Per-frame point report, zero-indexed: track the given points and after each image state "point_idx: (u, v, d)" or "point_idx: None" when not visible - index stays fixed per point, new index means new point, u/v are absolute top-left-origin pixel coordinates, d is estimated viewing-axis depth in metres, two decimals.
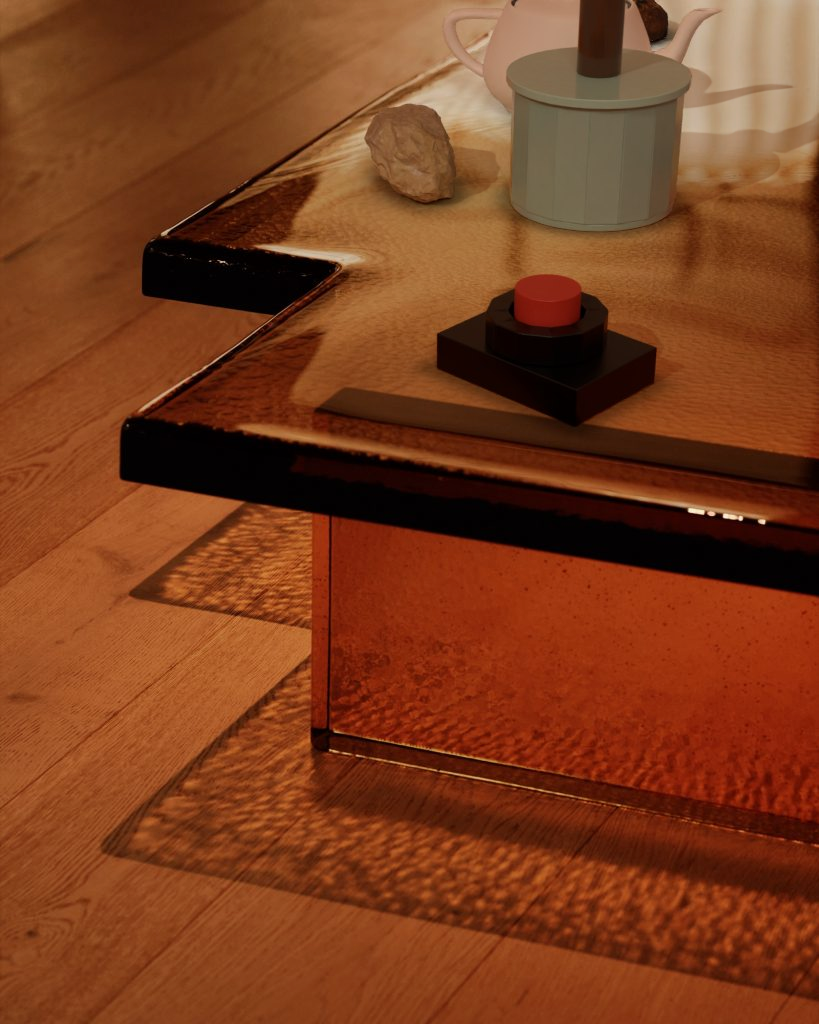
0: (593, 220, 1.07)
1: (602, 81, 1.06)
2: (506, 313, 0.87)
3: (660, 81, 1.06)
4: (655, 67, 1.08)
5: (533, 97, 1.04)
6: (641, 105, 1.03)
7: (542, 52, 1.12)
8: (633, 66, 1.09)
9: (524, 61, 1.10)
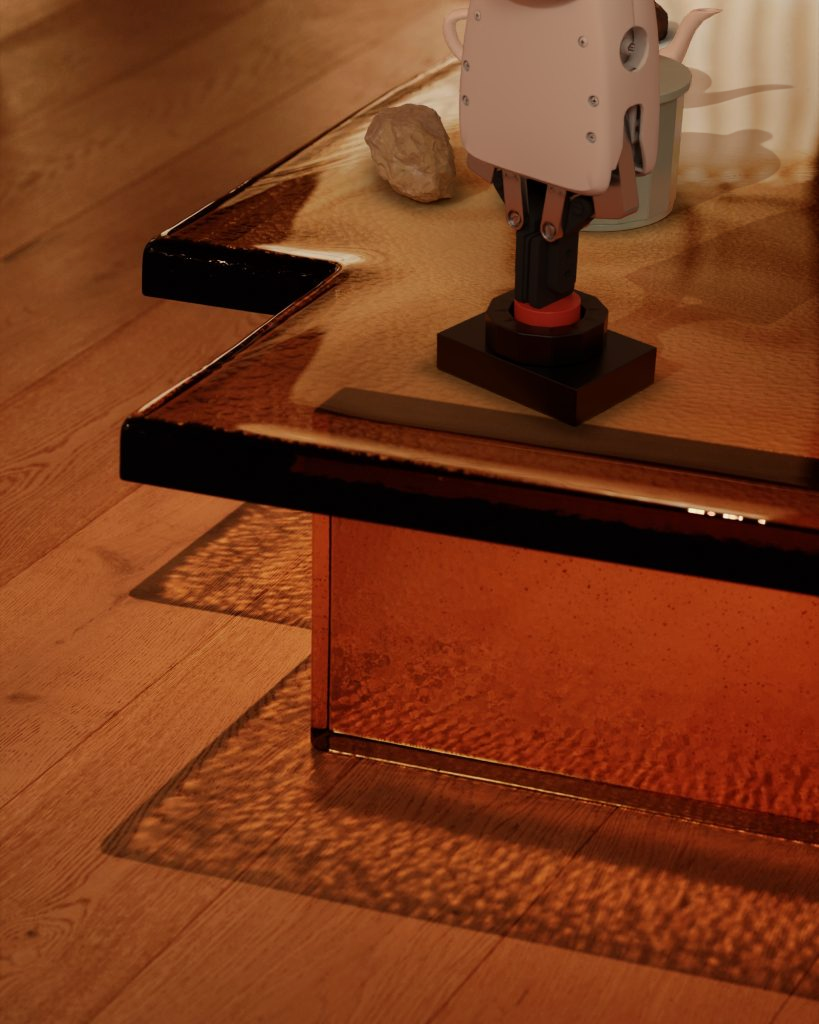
0: (593, 220, 1.07)
1: None
2: (506, 313, 0.87)
3: (660, 81, 1.06)
4: None
5: None
6: None
7: None
8: None
9: None
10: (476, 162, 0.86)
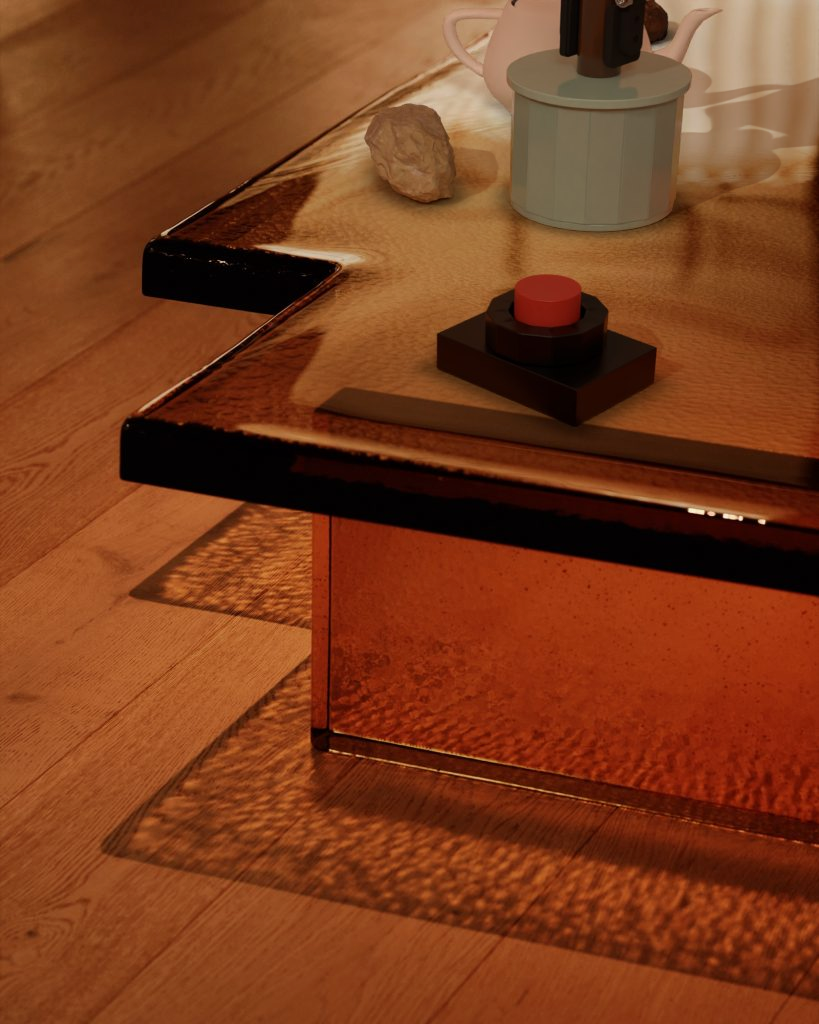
0: (593, 220, 1.07)
1: (602, 81, 1.06)
2: (506, 313, 0.87)
3: (660, 81, 1.06)
4: (655, 67, 1.08)
5: (533, 97, 1.04)
6: (641, 105, 1.03)
7: (542, 52, 1.12)
8: (633, 66, 1.09)
9: (524, 61, 1.10)
10: None
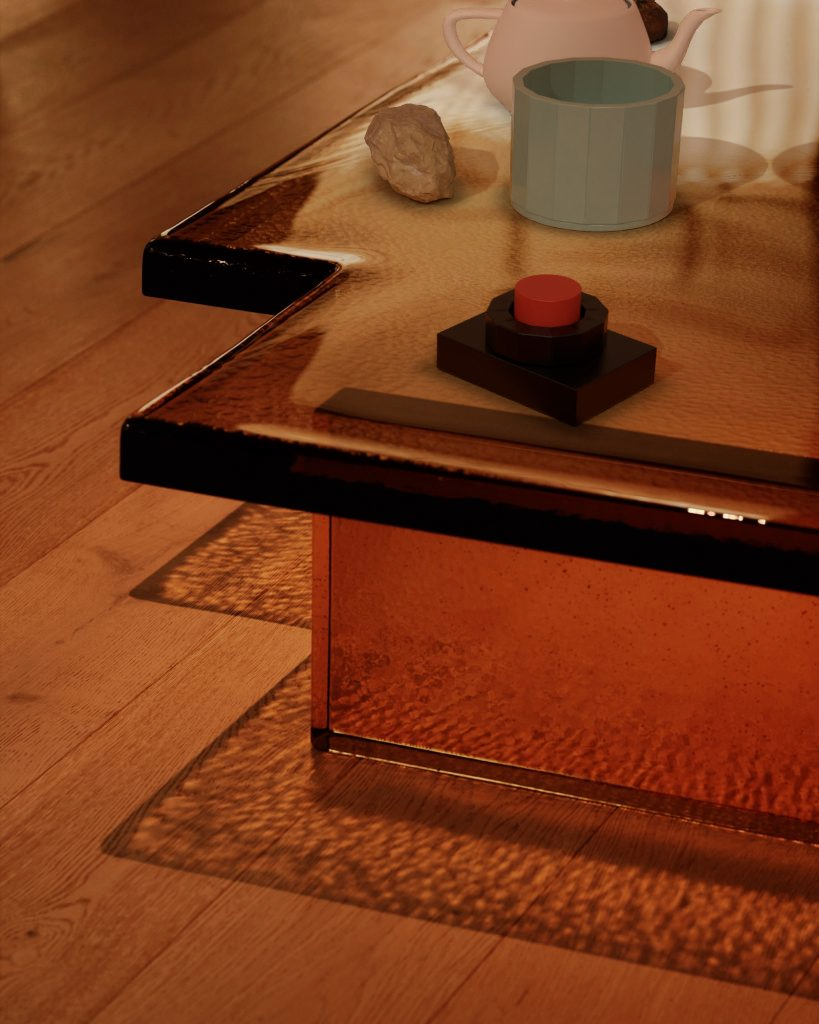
0: (593, 220, 1.07)
1: None
2: (506, 313, 0.87)
3: None
4: None
5: None
6: None
7: None
8: None
9: None
10: None
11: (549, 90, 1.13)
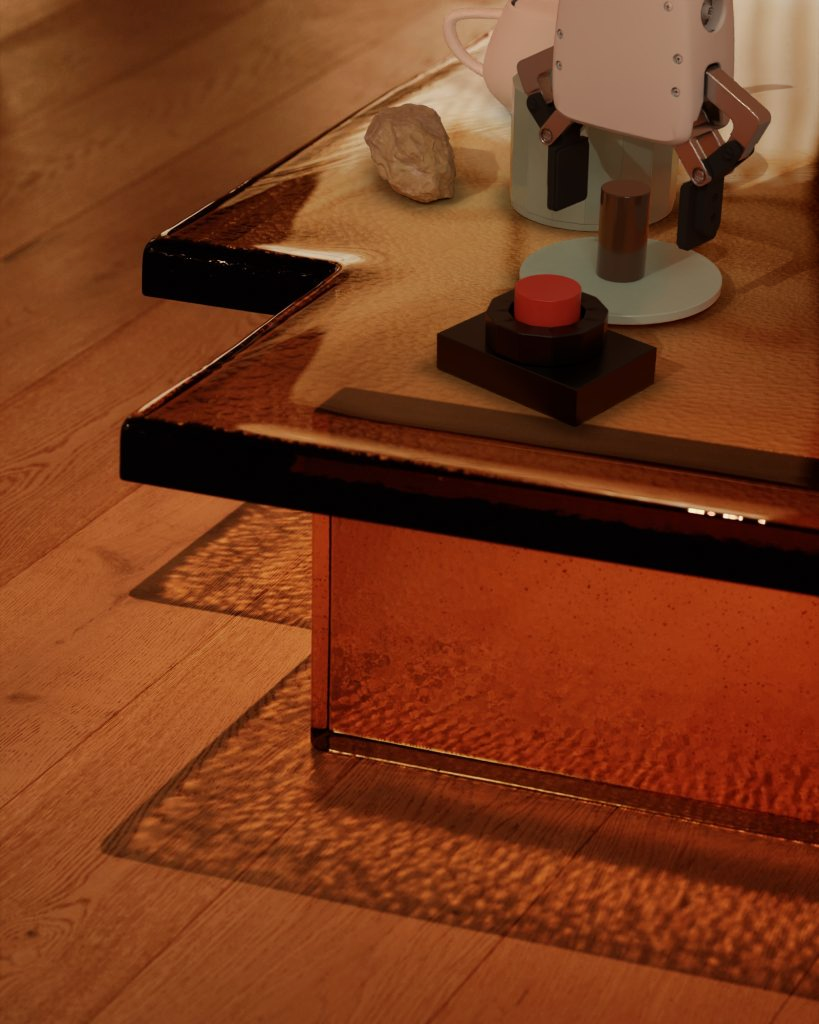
0: (593, 220, 1.07)
1: (624, 287, 0.97)
2: (506, 313, 0.87)
3: (688, 287, 0.97)
4: (682, 266, 0.99)
5: None
6: (668, 320, 0.94)
7: (558, 244, 1.03)
8: (658, 265, 1.00)
9: (538, 256, 1.01)
10: (525, 70, 0.97)
11: None
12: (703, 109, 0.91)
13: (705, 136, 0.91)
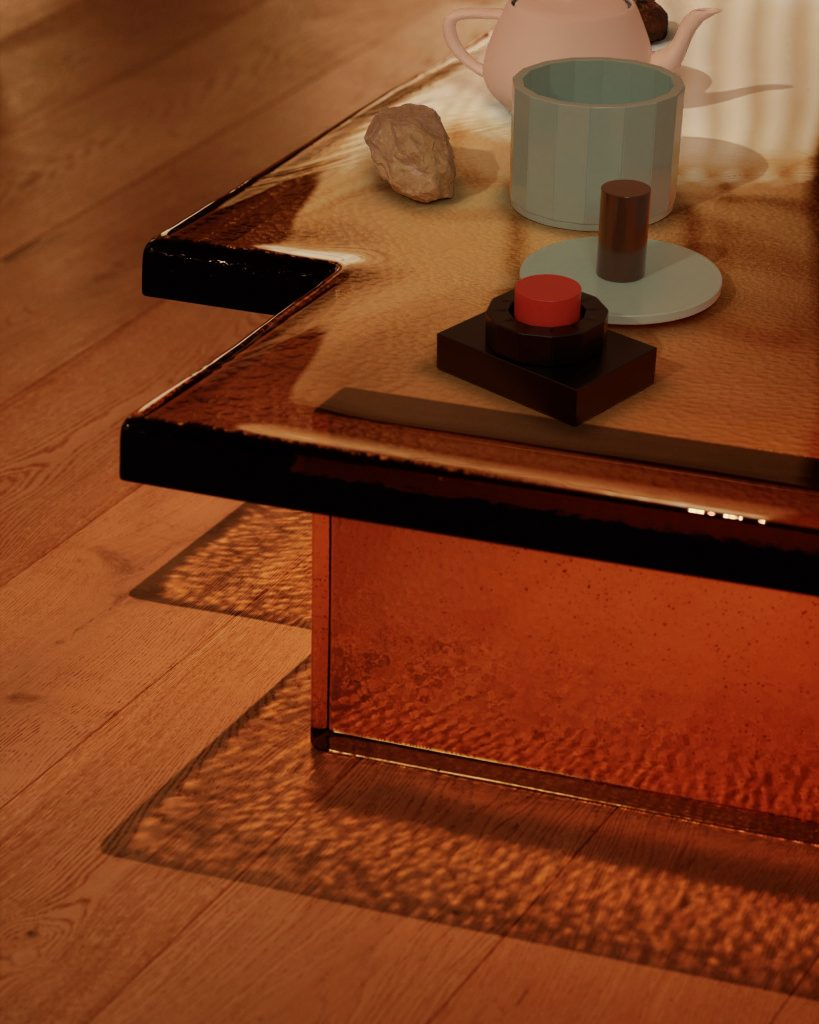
0: (593, 220, 1.07)
1: (624, 287, 0.97)
2: (506, 313, 0.87)
3: (688, 287, 0.97)
4: (682, 266, 0.99)
5: None
6: (668, 320, 0.94)
7: (558, 244, 1.03)
8: (658, 265, 1.00)
9: (538, 256, 1.01)
10: None
11: (549, 90, 1.13)
12: None
13: None
